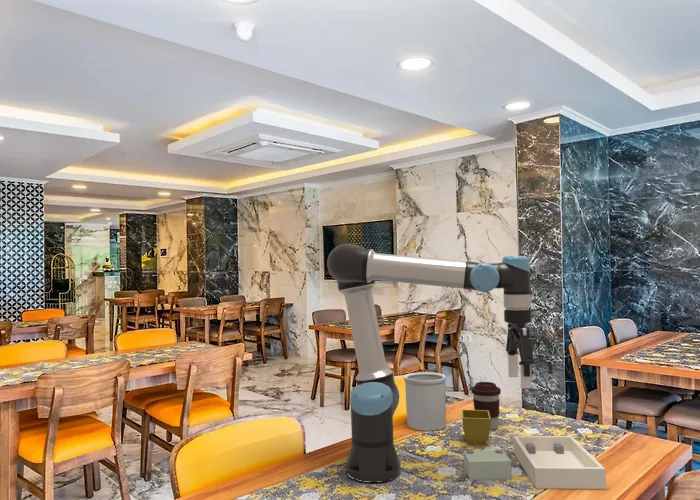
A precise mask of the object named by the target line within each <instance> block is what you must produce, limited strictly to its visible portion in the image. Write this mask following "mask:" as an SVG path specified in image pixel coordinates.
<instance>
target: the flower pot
mask: <svg viewBox="0 0 700 500" xmlns="http://www.w3.org/2000/svg"><path fill="white" fill-rule="evenodd" d="M461 421H462V429H463V434H464V437H465V439H466V441H467V443H468V444H469V445H486V444H487V442H488V440H489V438H490V434H491V433H490V432H491V430H490V422H491V418H490V414H489V411H488V410H474V409H461Z"/></svg>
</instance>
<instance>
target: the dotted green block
mask: <svg viewBox="0 0 700 500" xmlns="http://www.w3.org/2000/svg"><path fill="white" fill-rule="evenodd" d="M463 469H464V470H465V473H466V474H467V477H468V479H469V481H473V480H474V481H476V480H477V481H481V480H483V481H484V480H486V481H487V480H489V481H490V480H512V479H513V477H512V476H513V474H512V461H511V459H510V458H509V456H508V454H507V453H506V452H505V451H504V449H481V450H479V449H478V450H473V449H472V450H471V449H470V450H463Z"/></svg>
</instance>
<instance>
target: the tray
mask: <svg viewBox="0 0 700 500" xmlns="http://www.w3.org/2000/svg"><path fill="white" fill-rule="evenodd" d="M512 442H513V443H512V444H513V445H512V446H513V454H514V455H515V457H516V459H517V460H518V462H519V464H520V466H521V467H522V468H523V470H524V471H525V473H526V475H527V477H528V478H529V480H530V481H531V483H532V484H533V486H534V488H535V489H558V490H559V489H561V490H562V489H564V490H566V489H567V490H569V489H570V490H572V489H573V490H574V489H575V490H607V479H606V478H607V477H606V468H605V467H604V466H603V465H602V464H601V463H600V462H599V461H598V460H597V459H596V458H595V457H594V456H593V455H592V454H591V453H589V452H588V450H586V448H584V446H582V444H581V443H579V442H578V441H577V440H576V439H575V438H574V437H573V436H572V435H513V436H512Z"/></svg>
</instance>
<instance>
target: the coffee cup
mask: <svg viewBox="0 0 700 500" xmlns="http://www.w3.org/2000/svg"><path fill="white" fill-rule="evenodd" d="M470 389H471V390H470V391H471V393H472V395H473V398H472V400H473V410H488V411H489V414H490V418H491V422H490V431H492V430H496V429H498V428H499V416H500V395H501V391H502V390H501V388H500V387H499V386H497V385H496V383H494V382H490V381H478V382H476V383H475V384H474V386H472V387H471V388H470Z"/></svg>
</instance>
